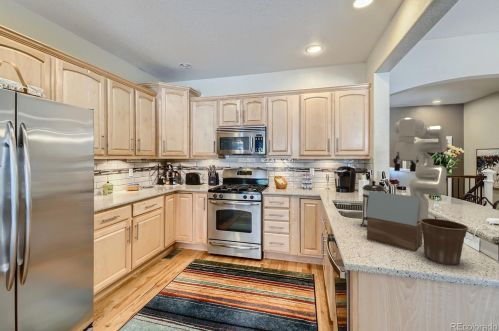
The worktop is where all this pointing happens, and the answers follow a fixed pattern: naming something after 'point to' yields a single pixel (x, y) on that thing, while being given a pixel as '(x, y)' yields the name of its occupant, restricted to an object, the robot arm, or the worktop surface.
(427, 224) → the plant pot
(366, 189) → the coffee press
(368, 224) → the box
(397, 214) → the lid
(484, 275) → the worktop surface
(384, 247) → the worktop surface
